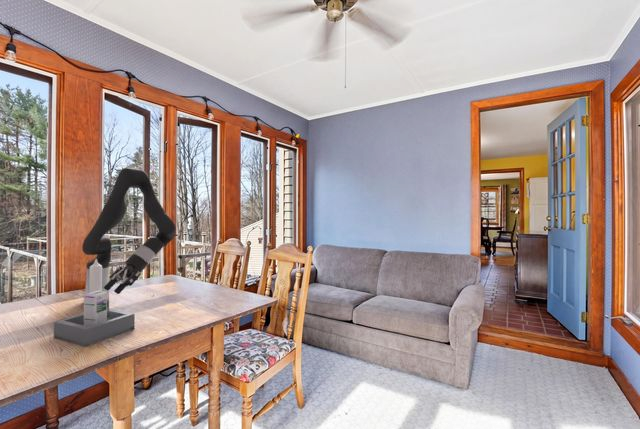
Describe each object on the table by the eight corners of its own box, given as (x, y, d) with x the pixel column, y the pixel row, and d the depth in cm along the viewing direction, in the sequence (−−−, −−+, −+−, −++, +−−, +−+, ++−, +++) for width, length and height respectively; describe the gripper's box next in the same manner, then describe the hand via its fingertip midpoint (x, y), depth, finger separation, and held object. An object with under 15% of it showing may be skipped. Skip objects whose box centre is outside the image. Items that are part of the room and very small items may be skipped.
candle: (108, 313, 139) (109, 258, 138) (92, 318, 132) (93, 260, 132) (97, 311, 141) (98, 257, 141) (81, 315, 134) (82, 259, 134)
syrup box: (95, 333, 114) (96, 295, 113) (82, 332, 115) (83, 293, 115) (109, 328, 119) (109, 291, 119) (97, 326, 120) (97, 289, 120)
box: (53, 337, 112) (54, 321, 112) (104, 321, 128) (104, 307, 128) (85, 346, 105) (86, 329, 105) (134, 328, 122) (134, 313, 122)
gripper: (125, 251, 132) (94, 283, 122) (143, 255, 124) (112, 288, 115) (138, 262, 136) (109, 293, 127) (156, 266, 129) (126, 299, 119)
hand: (110, 291), depth 121 cm, fingers open, 8 cm apart
